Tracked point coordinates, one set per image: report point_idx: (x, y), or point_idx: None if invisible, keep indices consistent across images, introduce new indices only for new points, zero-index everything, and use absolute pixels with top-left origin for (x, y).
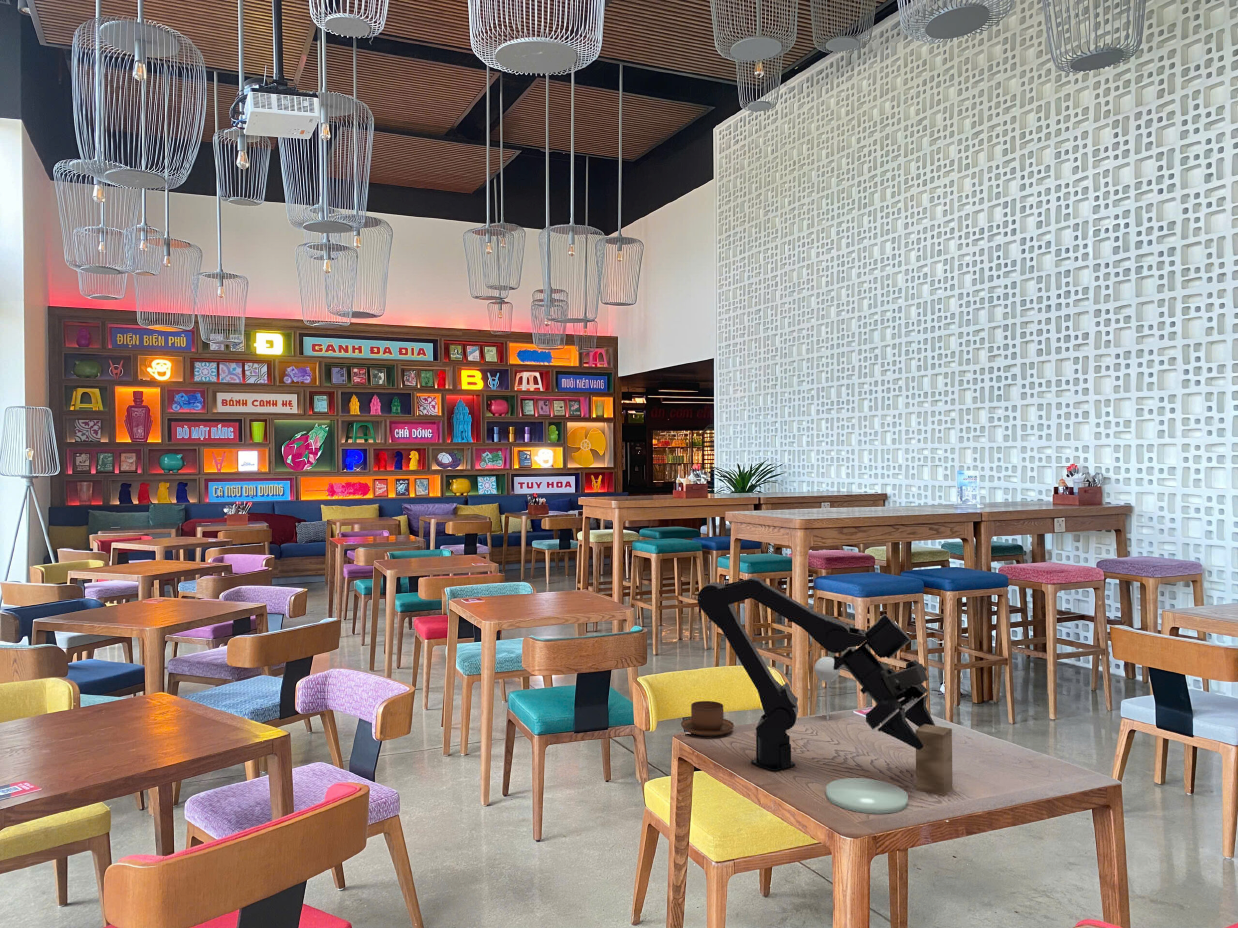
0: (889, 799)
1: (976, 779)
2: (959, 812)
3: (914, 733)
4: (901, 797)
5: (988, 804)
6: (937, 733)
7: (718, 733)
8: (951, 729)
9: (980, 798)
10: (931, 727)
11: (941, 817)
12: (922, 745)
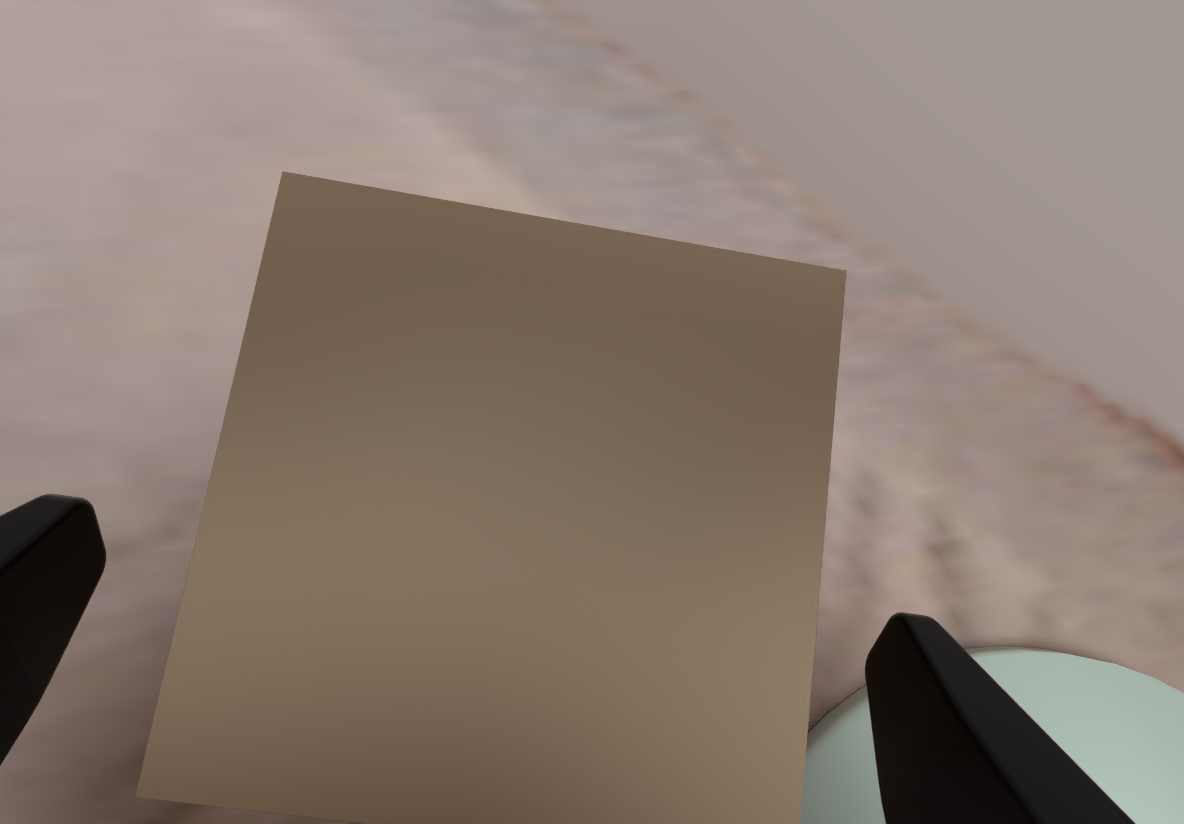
0: (1116, 779)
1: (99, 261)
2: (903, 300)
3: (1078, 819)
4: (1022, 701)
5: (645, 145)
6: (821, 383)
7: None
8: (307, 185)
9: (550, 200)
10: (398, 577)
11: (1058, 393)
12: (930, 624)
